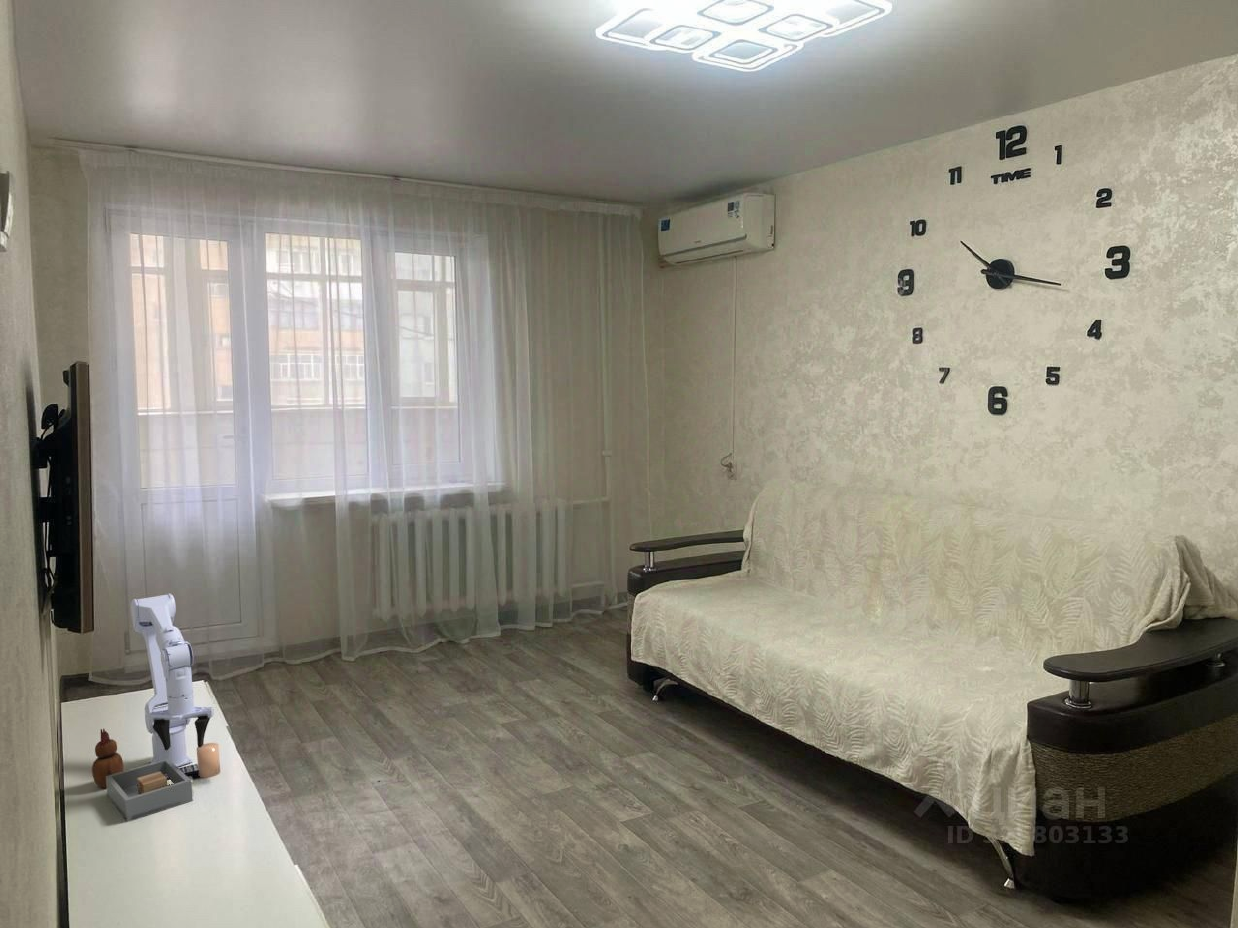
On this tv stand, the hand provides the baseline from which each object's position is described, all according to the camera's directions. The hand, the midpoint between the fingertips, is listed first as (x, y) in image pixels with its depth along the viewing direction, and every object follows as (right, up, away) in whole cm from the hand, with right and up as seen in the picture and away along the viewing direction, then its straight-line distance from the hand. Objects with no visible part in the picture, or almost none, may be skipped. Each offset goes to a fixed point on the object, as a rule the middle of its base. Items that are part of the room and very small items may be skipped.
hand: (184, 747), depth 219 cm
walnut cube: (-3, -10, -8) cm, 13 cm away
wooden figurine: (-20, -10, +3) cm, 23 cm away
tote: (-5, -10, -6) cm, 13 cm away
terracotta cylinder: (+3, -9, +7) cm, 12 cm away
